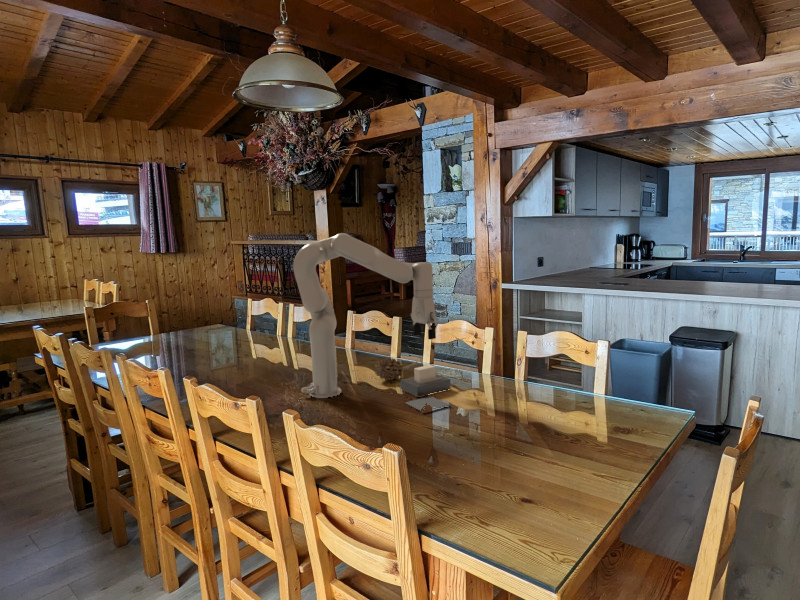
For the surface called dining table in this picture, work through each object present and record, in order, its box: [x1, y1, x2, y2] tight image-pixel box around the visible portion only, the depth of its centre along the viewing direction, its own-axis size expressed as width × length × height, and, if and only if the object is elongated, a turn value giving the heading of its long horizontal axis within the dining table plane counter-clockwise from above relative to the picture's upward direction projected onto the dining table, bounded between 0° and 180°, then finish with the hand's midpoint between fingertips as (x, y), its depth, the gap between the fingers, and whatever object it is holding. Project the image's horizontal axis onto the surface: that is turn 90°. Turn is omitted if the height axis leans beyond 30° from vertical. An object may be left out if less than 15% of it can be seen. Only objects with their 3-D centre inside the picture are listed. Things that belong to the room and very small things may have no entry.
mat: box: [404, 395, 451, 412], centre depth 183 cm, size 12×12×1 cm
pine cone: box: [374, 357, 418, 381], centre depth 217 cm, size 22×10×10 cm, turn 129°
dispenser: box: [399, 373, 451, 397], centre depth 200 cm, size 16×12×5 cm
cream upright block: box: [413, 364, 437, 383], centre depth 200 cm, size 8×4×10 cm, turn 123°
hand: (424, 336), depth 198 cm, fingers open, 9 cm apart
